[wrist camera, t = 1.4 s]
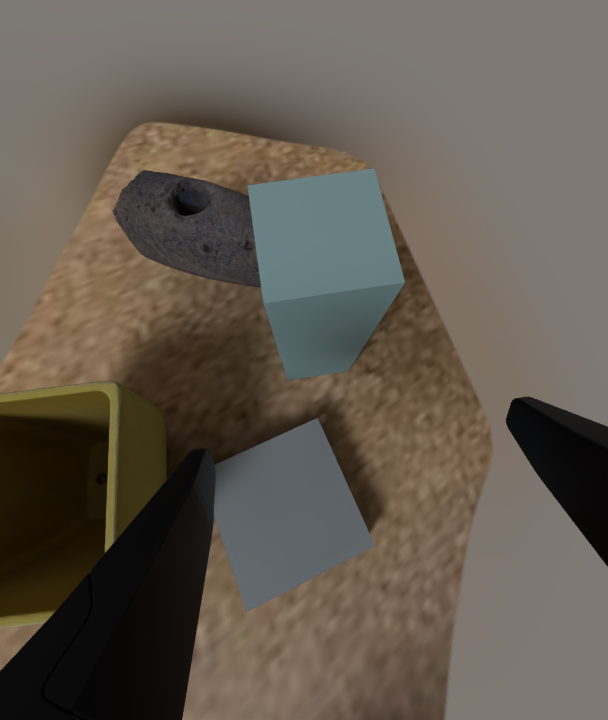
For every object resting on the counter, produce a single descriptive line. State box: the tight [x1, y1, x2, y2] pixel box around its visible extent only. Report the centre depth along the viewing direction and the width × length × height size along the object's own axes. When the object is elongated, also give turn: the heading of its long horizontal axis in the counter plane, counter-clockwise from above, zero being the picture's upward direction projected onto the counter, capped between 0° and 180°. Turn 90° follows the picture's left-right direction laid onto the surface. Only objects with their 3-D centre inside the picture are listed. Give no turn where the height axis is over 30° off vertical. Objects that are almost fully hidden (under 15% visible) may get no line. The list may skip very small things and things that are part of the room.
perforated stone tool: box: [113, 170, 261, 287], centre depth 21 cm, size 15×5×7 cm, turn 74°
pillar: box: [248, 169, 405, 380], centre depth 16 cm, size 4×4×13 cm
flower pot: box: [0, 381, 167, 628], centre depth 16 cm, size 9×9×9 cm
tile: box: [214, 418, 375, 612], centre depth 19 cm, size 8×8×2 cm
